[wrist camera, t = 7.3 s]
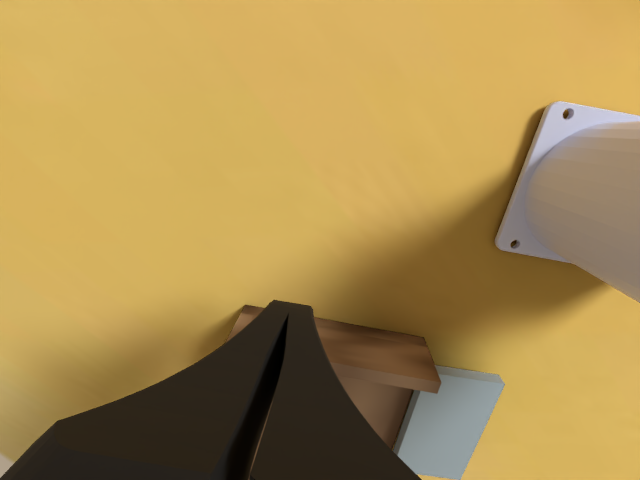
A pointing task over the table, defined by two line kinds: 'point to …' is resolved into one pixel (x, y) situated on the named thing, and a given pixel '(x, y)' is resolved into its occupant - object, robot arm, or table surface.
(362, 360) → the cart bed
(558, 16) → the table surface
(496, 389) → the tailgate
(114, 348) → the table surface
